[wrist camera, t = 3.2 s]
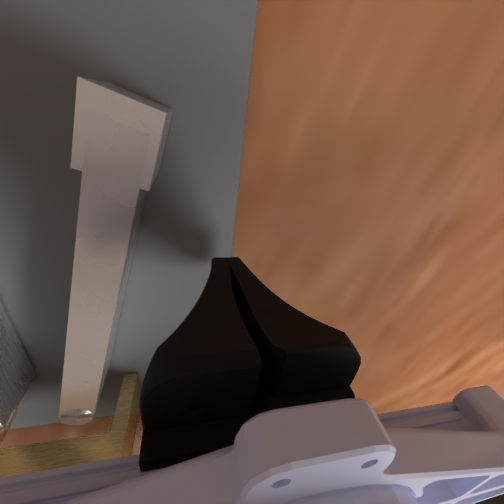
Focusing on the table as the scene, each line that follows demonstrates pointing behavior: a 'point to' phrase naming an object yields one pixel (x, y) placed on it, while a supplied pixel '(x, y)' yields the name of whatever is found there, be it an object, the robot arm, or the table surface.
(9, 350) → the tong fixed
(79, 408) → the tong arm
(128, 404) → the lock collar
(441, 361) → the table surface
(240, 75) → the mat
